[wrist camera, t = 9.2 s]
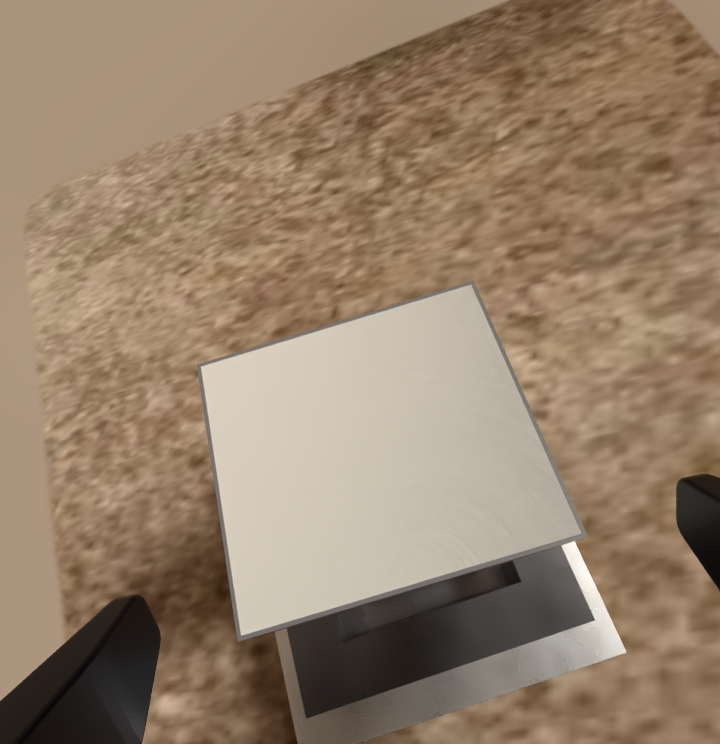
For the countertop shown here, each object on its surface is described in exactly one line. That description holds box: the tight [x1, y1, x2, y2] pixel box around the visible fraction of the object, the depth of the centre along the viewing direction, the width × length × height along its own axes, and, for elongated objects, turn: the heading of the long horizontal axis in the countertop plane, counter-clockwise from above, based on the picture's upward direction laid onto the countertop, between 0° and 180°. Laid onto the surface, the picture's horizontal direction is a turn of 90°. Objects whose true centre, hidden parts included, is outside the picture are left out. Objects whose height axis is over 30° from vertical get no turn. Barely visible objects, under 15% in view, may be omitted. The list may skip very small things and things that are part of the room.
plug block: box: [197, 281, 588, 642], centre depth 12 cm, size 4×4×13 cm
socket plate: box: [275, 542, 626, 744], centre depth 17 cm, size 11×11×4 cm
